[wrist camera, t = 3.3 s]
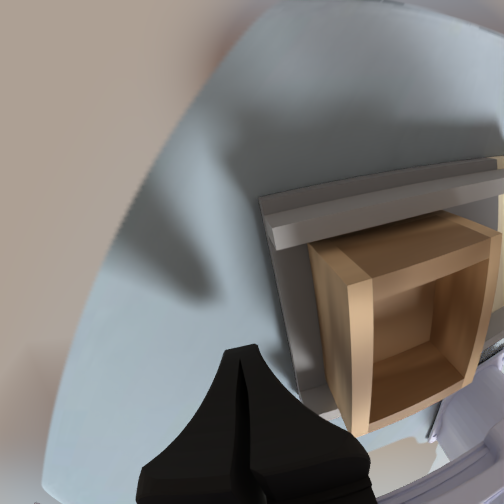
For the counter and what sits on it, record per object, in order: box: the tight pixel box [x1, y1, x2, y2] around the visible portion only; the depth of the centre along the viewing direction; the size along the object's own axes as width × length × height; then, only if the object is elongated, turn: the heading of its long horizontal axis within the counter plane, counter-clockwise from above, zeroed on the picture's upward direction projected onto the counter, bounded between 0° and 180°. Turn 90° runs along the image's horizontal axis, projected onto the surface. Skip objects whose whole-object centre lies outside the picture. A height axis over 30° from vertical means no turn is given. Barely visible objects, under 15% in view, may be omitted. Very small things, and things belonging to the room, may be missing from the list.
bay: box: [258, 156, 504, 421], centre depth 13 cm, size 12×17×3 cm
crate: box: [307, 210, 502, 438], centre depth 12 cm, size 8×8×4 cm
